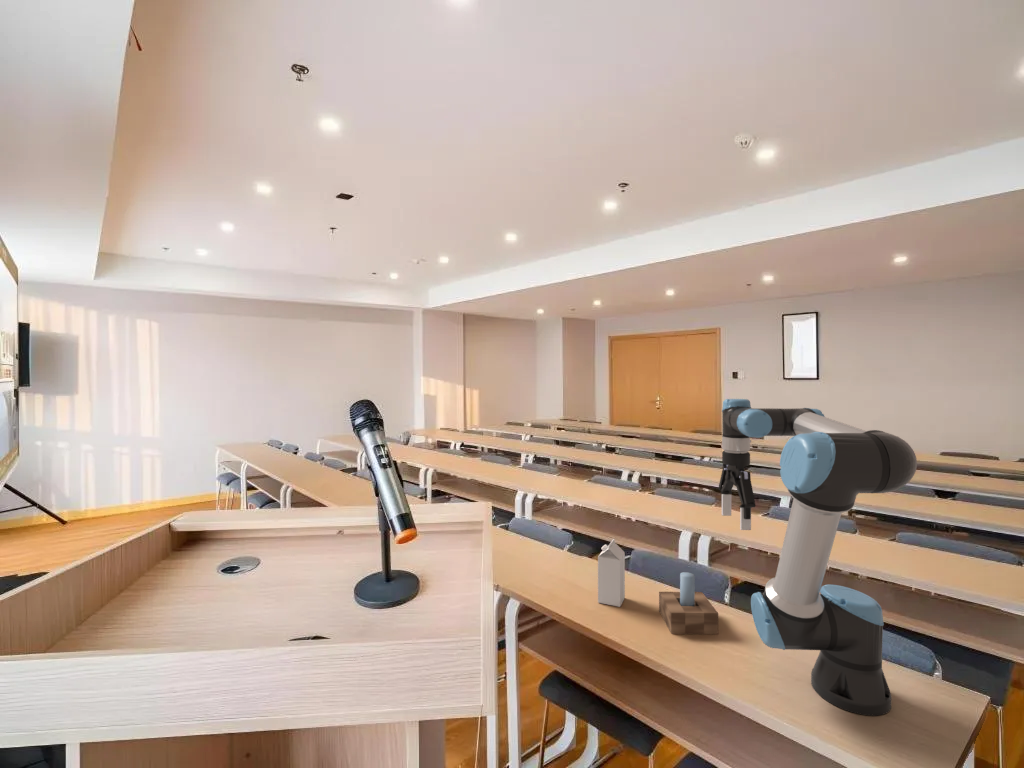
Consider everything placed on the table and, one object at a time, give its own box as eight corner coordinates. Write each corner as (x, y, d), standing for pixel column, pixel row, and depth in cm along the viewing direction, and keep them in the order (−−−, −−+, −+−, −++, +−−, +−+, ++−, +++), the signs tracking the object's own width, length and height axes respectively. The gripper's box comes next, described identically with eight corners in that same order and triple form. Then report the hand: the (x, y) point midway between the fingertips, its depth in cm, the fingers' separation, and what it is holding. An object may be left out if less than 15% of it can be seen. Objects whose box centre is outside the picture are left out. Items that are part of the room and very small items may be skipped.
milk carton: (624, 597, 160) (624, 540, 160) (620, 607, 154) (620, 547, 153) (603, 593, 163) (603, 537, 163) (597, 603, 157) (597, 544, 156)
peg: (696, 625, 143) (696, 578, 142) (682, 625, 143) (682, 577, 142) (691, 618, 147) (692, 572, 146) (678, 618, 147) (678, 572, 146)
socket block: (718, 634, 138) (718, 613, 138) (671, 633, 138) (671, 612, 138) (701, 611, 151) (702, 592, 151) (659, 610, 151) (659, 591, 151)
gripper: (769, 458, 133) (768, 536, 134) (731, 444, 158) (731, 510, 159) (741, 458, 133) (740, 536, 134) (708, 444, 158) (707, 510, 159)
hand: (735, 522), depth 146 cm, fingers open, 13 cm apart
